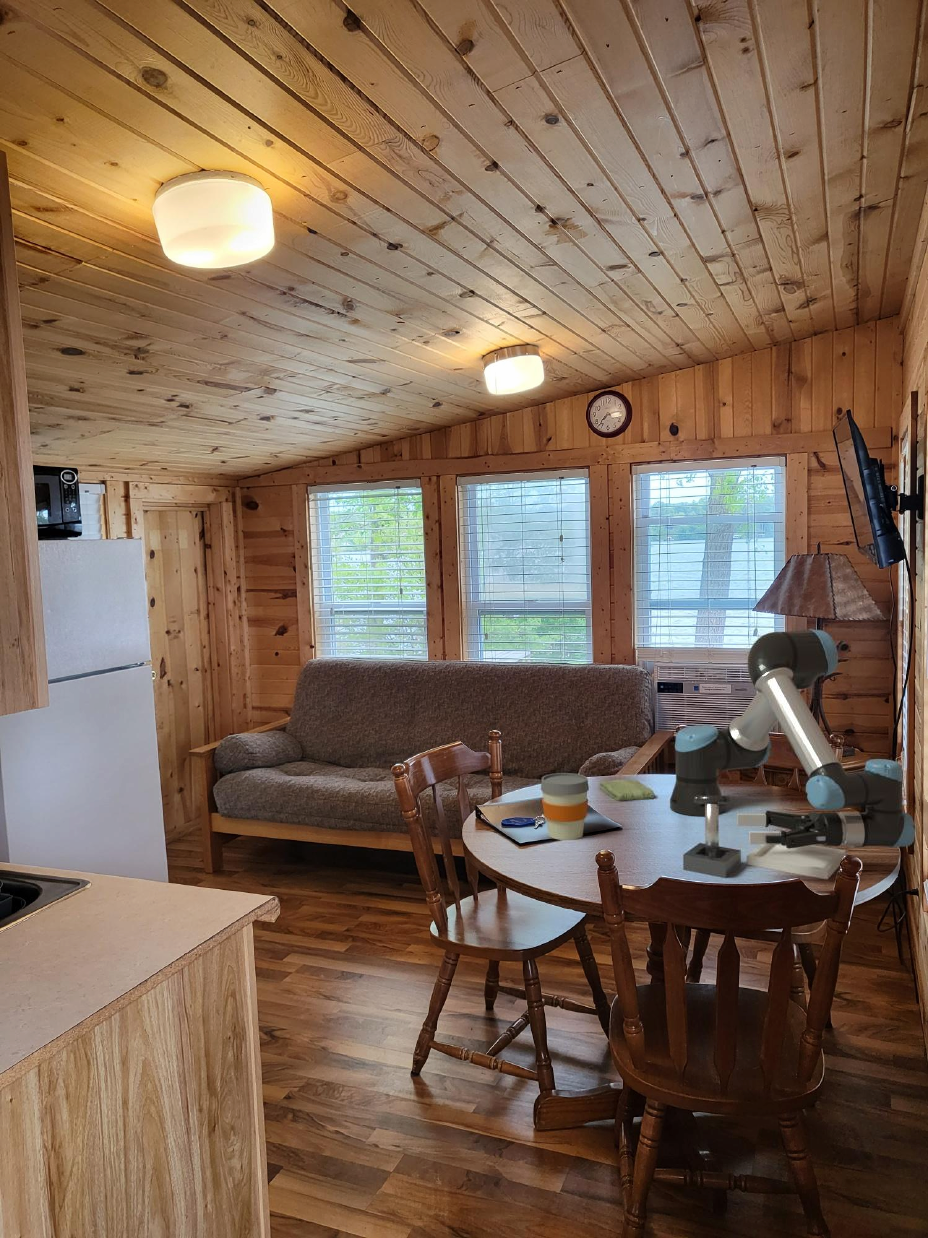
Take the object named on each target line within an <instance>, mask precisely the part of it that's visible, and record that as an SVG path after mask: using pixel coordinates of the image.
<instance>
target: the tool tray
mask: <svg viewBox="0 0 928 1238" xmlns="http://www.w3.org/2000/svg"><path fill="white" fill-rule="evenodd" d="M846 852H847V851H846V850H845V849H840V848H834V847H829V846H821V845H817V844H814V845H808V846H802V847H797V848H790V849H788V848H786V846H783V845H781V844H780V845H764V844H758V846H756V848H755V849H754V850H752V851H751V852H749V854H747V855H746V865H748V866H754V867H759V868H764V869H769V870H775V871H778V872H779V871H780V872H786V873H792V874H796V875H800V876H801V875H802V876H806V877H811V878H816V879H822V880H823V879H824V880H828V879H829V878H830V877H831V876H832V875H833V874H834V873H835V871H837V869H838V868H839V867H840V866H841V865H840V862H841V860H842V858H843V857H844V856H846V854H847V853H846Z"/></svg>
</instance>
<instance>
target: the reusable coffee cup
mask: <svg viewBox="0 0 928 1238" xmlns="http://www.w3.org/2000/svg"><path fill="white" fill-rule="evenodd" d="M540 781H541V785H540V791H541V792H542V799H541V801H542V803H541V804H542V809H543V810H542V811H543V815H544V816H543V817H544V818H545V820H546V825H547V834H548V836H549V837H550V838H552V839H554V840H555V839H556V840H561V841H573V840H577V839H580V838H582V837H583V836H584V829H585V828H584V826H585V819H586V818H587V815H588V813H587V812H588V807H589V805H588V803H589V799H588V791H589V780H588V776H586V775H583V774H579V773H574V772H573V773H571V772H570V773H569V772H559V773H557V772H555V773H550V774H546V775H544V776H542V777H541V780H540Z"/></svg>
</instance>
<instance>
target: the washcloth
mask: <svg viewBox="0 0 928 1238" xmlns="http://www.w3.org/2000/svg"><path fill="white" fill-rule="evenodd" d="M599 790H601V791H602V792H603V793H605V794H606V795H608V797H610V798H612V799H614V800H615V801H616V802H624V801H634V800H653V799H654V797H655V793H654V790H653V789H652V788H650V787H647V786H646V784H642V783H641V782H640V781H638V780H635V779H634V780H633V779H632V780H630V779H628V780H627V779H626V780H625V779H622V780H621V779H620V780H619V779H618V780H617V779H615V780H612V781H607V780H602V781H600V783H599Z"/></svg>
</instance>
